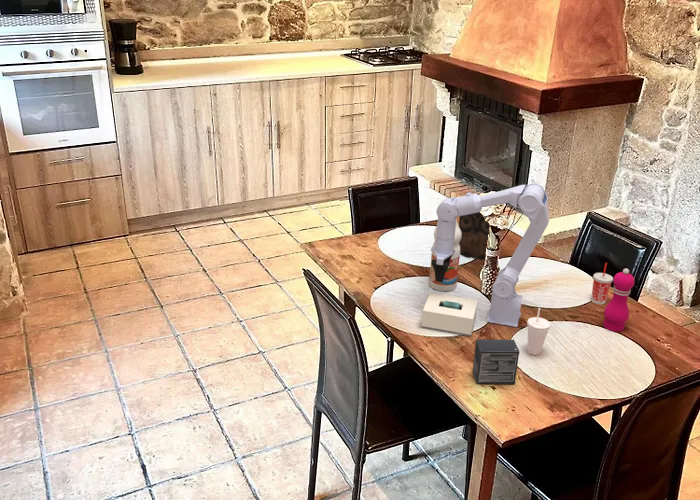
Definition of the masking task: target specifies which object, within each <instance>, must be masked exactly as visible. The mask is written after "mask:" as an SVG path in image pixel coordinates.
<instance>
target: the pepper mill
mask: <svg viewBox="0 0 700 500" xmlns="http://www.w3.org/2000/svg"><path fill="white" fill-rule="evenodd" d="M612 283H613V287H612V292H613V295H612V298H611V300H610V301H609V302H608V304H606V306H605V308H604V310H603V317H604V319H603V321H602V322H603V323H602V324H603V325H602V326H603V327H604V328H605V329H607V330H608V331H610V332H617V333H619V332H623V331H624V330H625V326H626V322H628V320H629V317H630V310H629V306H628V296H629V295H630V294H631V291H632V290H631V289H632V288H633V287H634V285H635V277H634V276H633V275H632V274H631V273H630V270H629V269H628V268H624V269H623V270H622V271H620V272H617V273H616V274H615V275H614V276H613V280H612Z"/></svg>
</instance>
